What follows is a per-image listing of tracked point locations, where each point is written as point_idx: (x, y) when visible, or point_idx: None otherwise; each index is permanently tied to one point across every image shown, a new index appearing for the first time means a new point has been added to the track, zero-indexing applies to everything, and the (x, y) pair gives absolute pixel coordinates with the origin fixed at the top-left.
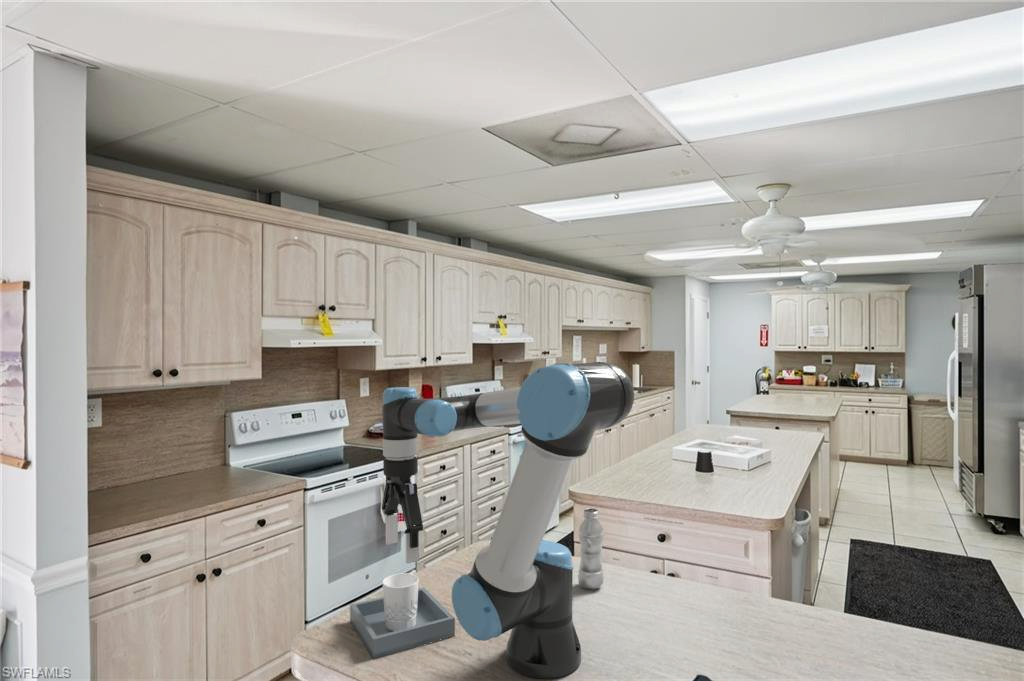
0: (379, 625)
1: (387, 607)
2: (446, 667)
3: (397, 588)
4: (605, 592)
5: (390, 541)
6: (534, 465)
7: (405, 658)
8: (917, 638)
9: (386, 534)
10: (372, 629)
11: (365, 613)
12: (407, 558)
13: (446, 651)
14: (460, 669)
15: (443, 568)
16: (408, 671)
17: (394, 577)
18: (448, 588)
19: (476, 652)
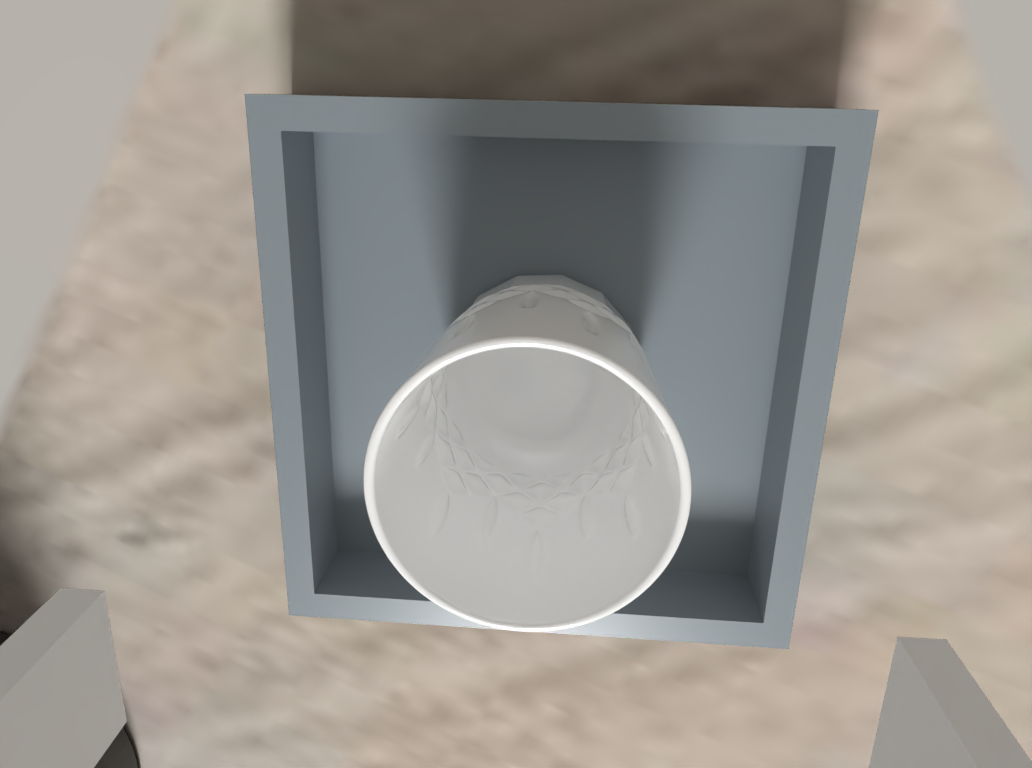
0: (609, 248)
1: (493, 303)
2: (61, 399)
3: (383, 411)
4: None
5: (903, 710)
6: None
7: (223, 258)
8: None
9: (974, 751)
10: (583, 190)
11: (802, 214)
12: (20, 633)
13: (201, 461)
14: (22, 444)
15: None
16: (94, 223)
17: (676, 484)
18: (858, 763)
19: (135, 567)
